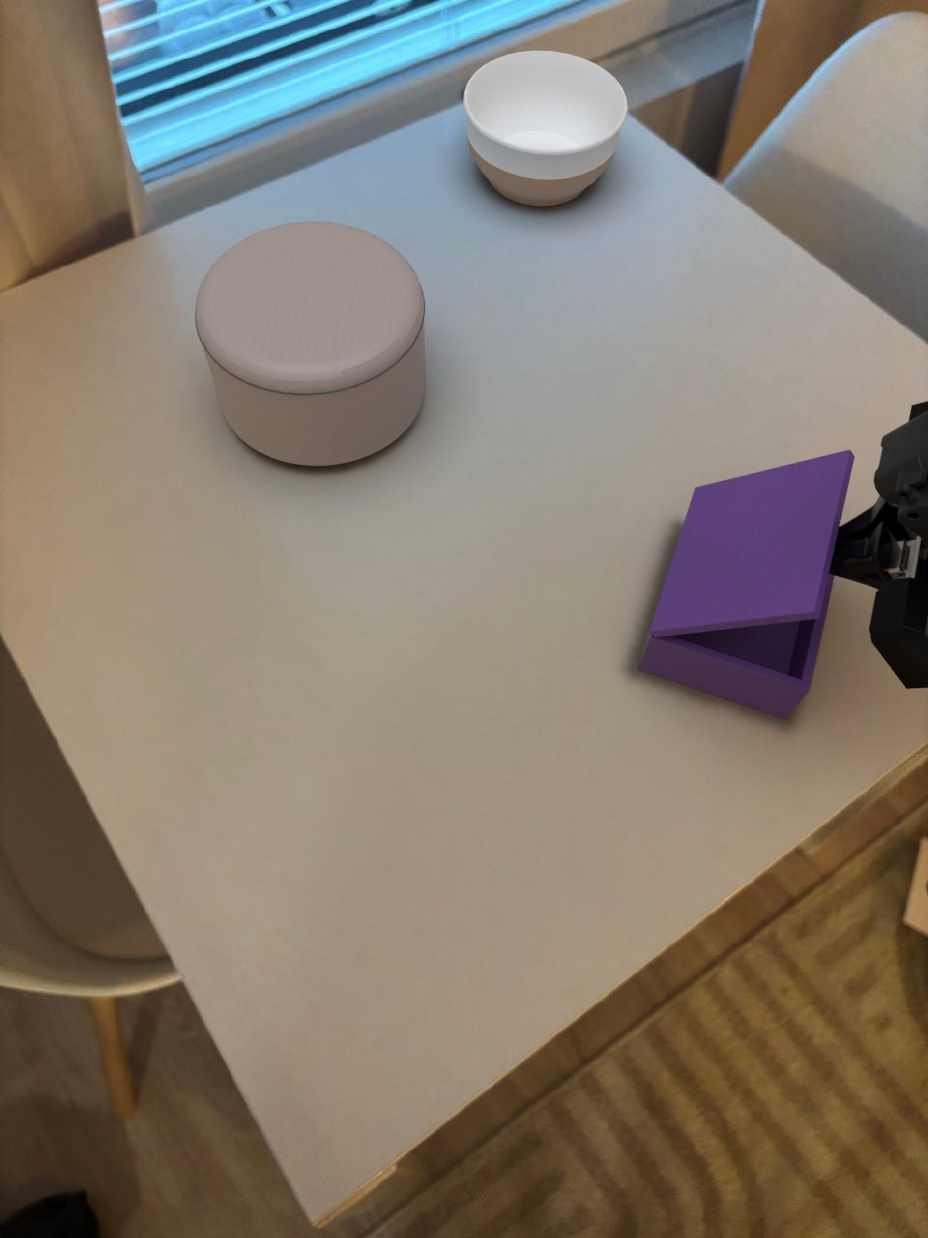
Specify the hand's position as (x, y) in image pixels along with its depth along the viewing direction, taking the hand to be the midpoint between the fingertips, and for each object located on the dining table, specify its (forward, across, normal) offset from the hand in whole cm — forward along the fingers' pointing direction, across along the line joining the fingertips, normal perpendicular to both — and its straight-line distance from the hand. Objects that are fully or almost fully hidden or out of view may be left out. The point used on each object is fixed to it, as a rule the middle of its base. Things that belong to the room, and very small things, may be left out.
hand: (800, 557), depth 64 cm
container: (+36, -9, -21) cm, 43 cm away
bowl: (+31, -45, -16) cm, 57 cm away
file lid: (+3, 0, -2) cm, 3 cm away
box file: (+9, 0, +6) cm, 11 cm away
